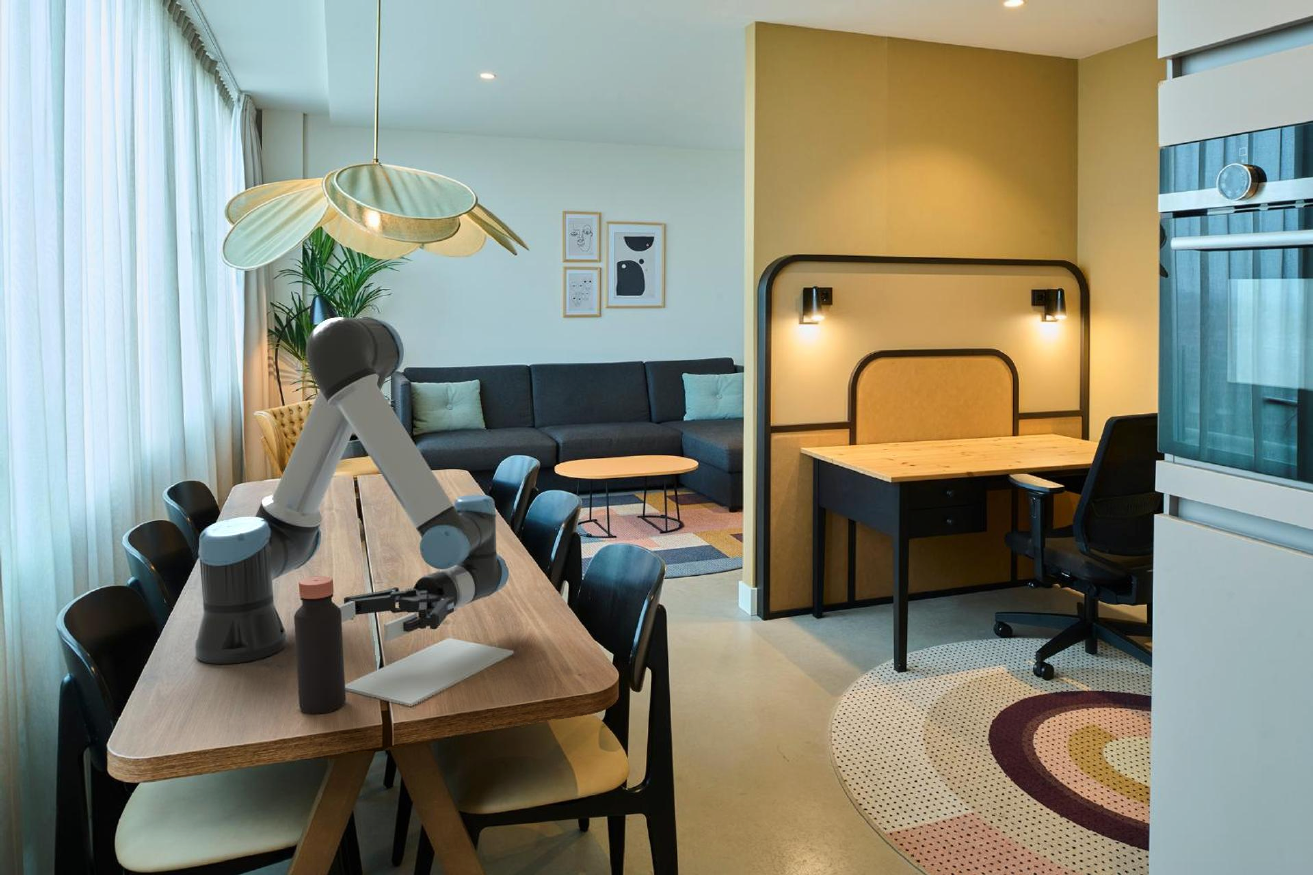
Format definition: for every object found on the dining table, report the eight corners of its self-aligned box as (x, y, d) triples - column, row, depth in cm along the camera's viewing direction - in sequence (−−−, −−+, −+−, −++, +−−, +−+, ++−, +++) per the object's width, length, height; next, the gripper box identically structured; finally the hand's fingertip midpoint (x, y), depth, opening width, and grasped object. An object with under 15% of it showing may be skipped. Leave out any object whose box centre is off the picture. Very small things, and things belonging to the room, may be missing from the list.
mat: (341, 689, 150) (341, 686, 150) (448, 640, 172) (448, 637, 172) (411, 706, 143) (410, 703, 143) (513, 653, 165) (513, 650, 165)
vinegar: (339, 713, 140) (333, 586, 138) (293, 715, 140) (286, 587, 137) (350, 696, 147) (344, 573, 145) (306, 697, 146) (299, 575, 144)
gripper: (499, 621, 161) (414, 661, 142) (391, 602, 172) (300, 637, 154) (498, 579, 160) (413, 614, 141) (389, 563, 171) (297, 593, 153)
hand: (354, 626), depth 147 cm, fingers open, 13 cm apart
